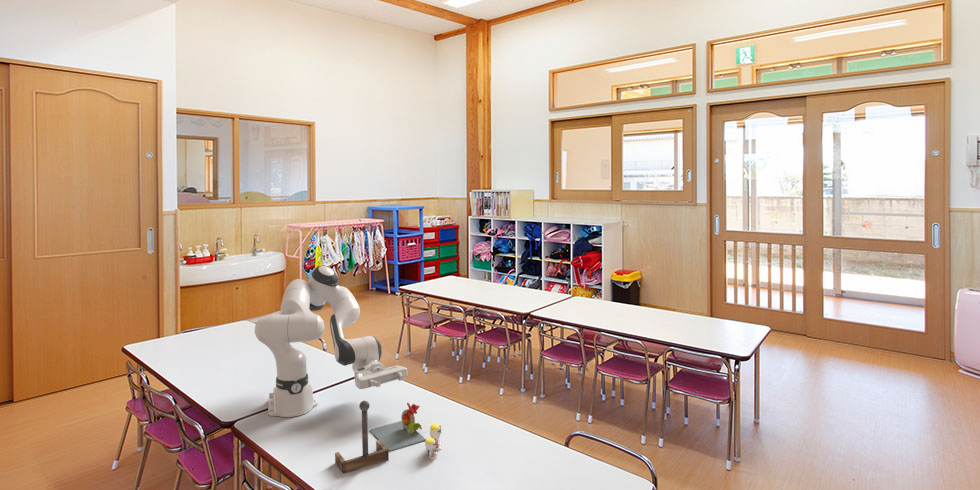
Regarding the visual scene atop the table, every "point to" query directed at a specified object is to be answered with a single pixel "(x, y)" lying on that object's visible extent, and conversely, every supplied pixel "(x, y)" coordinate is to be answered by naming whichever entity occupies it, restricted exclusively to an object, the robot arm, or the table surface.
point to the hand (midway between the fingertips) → (390, 381)
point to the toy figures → (433, 441)
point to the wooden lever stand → (367, 458)
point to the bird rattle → (410, 418)
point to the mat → (396, 436)
